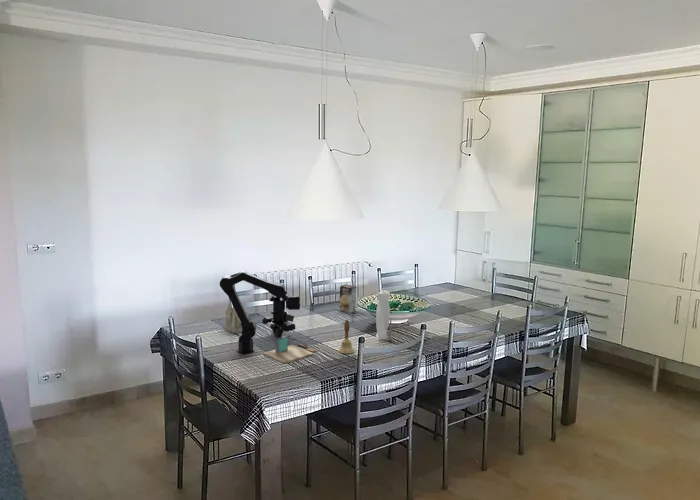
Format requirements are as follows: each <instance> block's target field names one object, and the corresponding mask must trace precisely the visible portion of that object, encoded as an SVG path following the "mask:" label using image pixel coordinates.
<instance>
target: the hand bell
mask: <svg viewBox="0 0 700 500" xmlns="http://www.w3.org/2000/svg"><path fill="white" fill-rule="evenodd" d="M343 326H344V327H343V328H344V339H342V341H341V345H340V347H339V348H338V350H337V351H338V352H339V353H340V354H343V353H344V354H343V355H346V354H345V353H351V354H354V353H355V352H354V351H355V348H353V346H352V341H351V339H350V338H349V332H350V322H349V320H348V319H346V320H345V321H344V325H343ZM353 352H354V353H353Z"/></svg>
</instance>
